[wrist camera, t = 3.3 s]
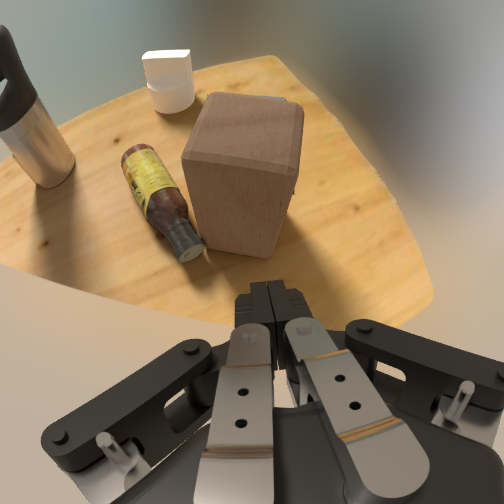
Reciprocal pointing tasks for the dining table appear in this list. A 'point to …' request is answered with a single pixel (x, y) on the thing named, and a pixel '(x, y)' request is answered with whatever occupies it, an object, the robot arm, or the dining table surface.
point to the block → (243, 170)
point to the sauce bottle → (161, 200)
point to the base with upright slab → (169, 80)
